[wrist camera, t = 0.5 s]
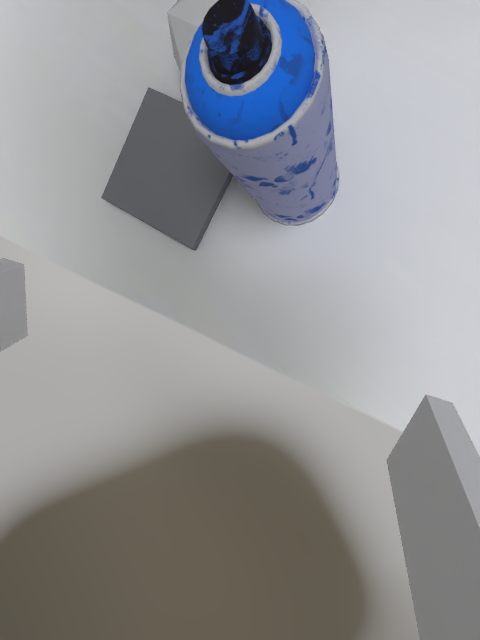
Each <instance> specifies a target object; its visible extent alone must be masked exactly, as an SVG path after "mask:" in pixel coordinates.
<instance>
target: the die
mask: <svg viewBox="0 0 480 640" xmlns="http://www.w3.org/2000/svg"><path fill="white" fill-rule="evenodd" d="M217 1H218V0H179V1H178V2H177V3H176V4H175V5H174V6H173V7H172V8H171V9H170V11H169V12H168V13H167V14H168V20H169V27H170V33H171V39H172V46H173V52H174V57H175V59H176V61H177V64H178V66H179V68H180V70H181V65H182V62H183V59H184V56H185V53H186V50H187V47H188V44H189V42H190V40H191V38H192V37H193V35H194V34H195V32H196V31H197V29H198V28H199V26H200V25H201V23H202V21H203V20H204V17H205V15H206V14H207V12H208V10H209V9H210V7H212V6H213V5H214V4H215V3H216V2H217Z"/></svg>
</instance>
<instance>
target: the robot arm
mask: <svg viewBox="0 0 480 640" xmlns="http://www.w3.org/2000/svg"><path fill="white" fill-rule="evenodd" d="M26 315H27V314H26V295H25V275H24V265H23V264H21V263H17V262H14V261H11V260H8V259H5V258H2V259H0V352H1V351H2V350H4V349H6V348H7V347H9V346H11V345H13V344H14V343H16V342H18V341H19V340H21V339H23V338H25V337H26V336H27V316H26ZM387 464H388V470H389V475H390V481H391V486H392V491H393V497H394V502H395V507H396V513H397V518H398V524H399V529H400V535H401V540H402V546H403V551H404V556H405V561H406V567H407V573H408V578H409V583H410V589H411V594H412V600H413V605H414V610H415V615H416V621H417V627H418V632H419V637H420V640H480V457H479V455H478V453H477V451H476V449H475V447H474V445H473V443H472V441H471V439H470V437H469V435H468V433H467V431H466V429H465V427H464V425H463V423H462V421H461V419H460V417H459V415H458V413H457V411H456V409H455V407H454V405H453V403H451V402H448V401H445V400H442V399H439V398H436V397H432V396H429V395H425V397H424V398H423V400H422V402H421V403H420V405H419V407H418V408H417V410H416V412H415V413H414V415H413V417H412V418H411V420H410V422H409V423H408V425H407V427H406V428H405V430H404V432H403V433H402V435H401V437H400V439H399V440H398V442H397V444H396V445H395V447H394V449H393V450H392V452H391V454H390V455H389V457H388V459H387Z"/></svg>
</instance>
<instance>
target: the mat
mask: <svg viewBox="0 0 480 640" xmlns="http://www.w3.org/2000/svg"><path fill="white" fill-rule="evenodd" d="M232 176H233V175H232V173H231V172H230V171H229V170H228V169H227V168H226V167H225V166H224V165H223V163H222V162H221V161H220V160H219V159H218V158H217V157H216V156H215V155H214V153H213V152H212V151H211V150H210V149H209V148H208V147H207V146H206V144H205V143H204V142H203V141H202V140H201V139H200V138H199V137H198V135H197V133H196V132H195V130H194V128H193V126H192V125H191V123H190V121H189V120H188V117H187V114H186V113H185V109H184V105H183V103H182V102H180V101H177V100H175V99H173V98H171V97H169V96H166V95H164V94H162V93H160V92H158V91H155V90H153V89H151V88H149V87H148V90H147V92H146V95H145V97H144V99H143V102H142V104H141V106H140V109H139V111H138V113H137V116H136V118H135V120H134V123H133V125H132V127H131V130H130V132H129V134H128V137H127V139H126V141H125V144H124V146H123V148H122V151H121V153H120V155H119V158H118V160H117V162H116V165H115V167H114V169H113V172H112V174H111V176H110V179H109V181H108V184H107V186H106V188H105V191H104V193H103V195H102V198H103V199H105V200H106V201H108V202H110V203H112V204H113V205H115V206H117V207H119V208H120V209H122V210H124V211H126V212H128V213H129V214H131V215H133V216H135V217H136V218H138V219H140V220H142V221H143V222H145V223H147V224H149V225H151V226H152V227H154V228H156V229H158V230H159V231H161V232H163V233H165V234H166V235H168V236H170V237H172V238H174V239H175V240H177V241H179V242H181V243H182V244H184V245H186V246H188V247H190V248H191V249H194V250H196V249H197V247H198V245H199V243H200V241H201V239H202V237H203V235H204V233H205V231H206V229H207V227H208V225H209V223H210V221H211V219H212V217H213V215H214V213H215V211H216V209H217V207H218V205H219V202H220V200H221V198H222V196H223V194H224V192H225V190H226V188H227V186H228V184H229V182H230V180H231V178H232Z"/></svg>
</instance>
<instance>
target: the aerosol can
mask: <svg viewBox="0 0 480 640" xmlns="http://www.w3.org/2000/svg"><path fill="white" fill-rule="evenodd" d="M180 91H181V96H182V100H183V105H184V109H185V113H186V114H187V117H188V120H189V121H190V123H191V125H192V126H193V128H194V130H195V132H196V133H197V135H198V137H199V138H200V139H201V140H202V141H203V142H204V143H205V144H206V146H207V147H208V148H209V149H210V150H211V151H212V152H213V153H214V155H215V156H216V157H217V158H218V159H219V160H220V161H221V162H222V163H223V165H224V166H225V167H226V168H227V169H228V170H229V171H230V172H231V173H232V175H233V176H234V177H235V178H236V179H237V180H238V181H239V182H240V184H241V185H242V186H243V187H244V188H245V189H246V190H247V191H248V192H249V194H250V195H251V196H252V197H253V198H254V199H255V200H256V201H257V202H258V204H259V206H260V207H261V209H262V211H263V212H264V213H265V214H266V215H267V216H269V217H270V218H271V219H272V220H273V221H276V222H278V223H281V224H284V225H301V224H305V223H308V222H311V221H313V220H314V219H316V218H318V217H319V216H321V215H322V214H323V213H324V212H325V211H326V210H327V209H328V207H329V206H330V205H331V204H332V202H333V200H334V198H335V195H336V193H337V191H338V184H339V171H338V167H337V162H336V154H335V140H334V126H333V112H332V98H331V84H330V71H329V59H328V55H327V50H326V46H325V41H324V37H323V35H322V33H321V31H320V28H319V26H318V25H317V23H316V22H315V20H314V19H313V17H312V16H311V14H310V12H309V11H308V9H307V8H306V7H305V6H303V5H302V4H300V3H299V2H297V1H296V0H218V1H217V2H216V3H215V4H214V5H213V6H212V7H210V9H209V10H208V12H207V14H206V15H205V17H204V20H203V21H202V23H201V25H200V26H199V28H198V29H197V31H196V32H195V34H194V35H193V37H192V38H191V40H190V42H189V44H188V47H187V50H186V53H185V56H184V59H183V62H182V65H181V81H180Z"/></svg>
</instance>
